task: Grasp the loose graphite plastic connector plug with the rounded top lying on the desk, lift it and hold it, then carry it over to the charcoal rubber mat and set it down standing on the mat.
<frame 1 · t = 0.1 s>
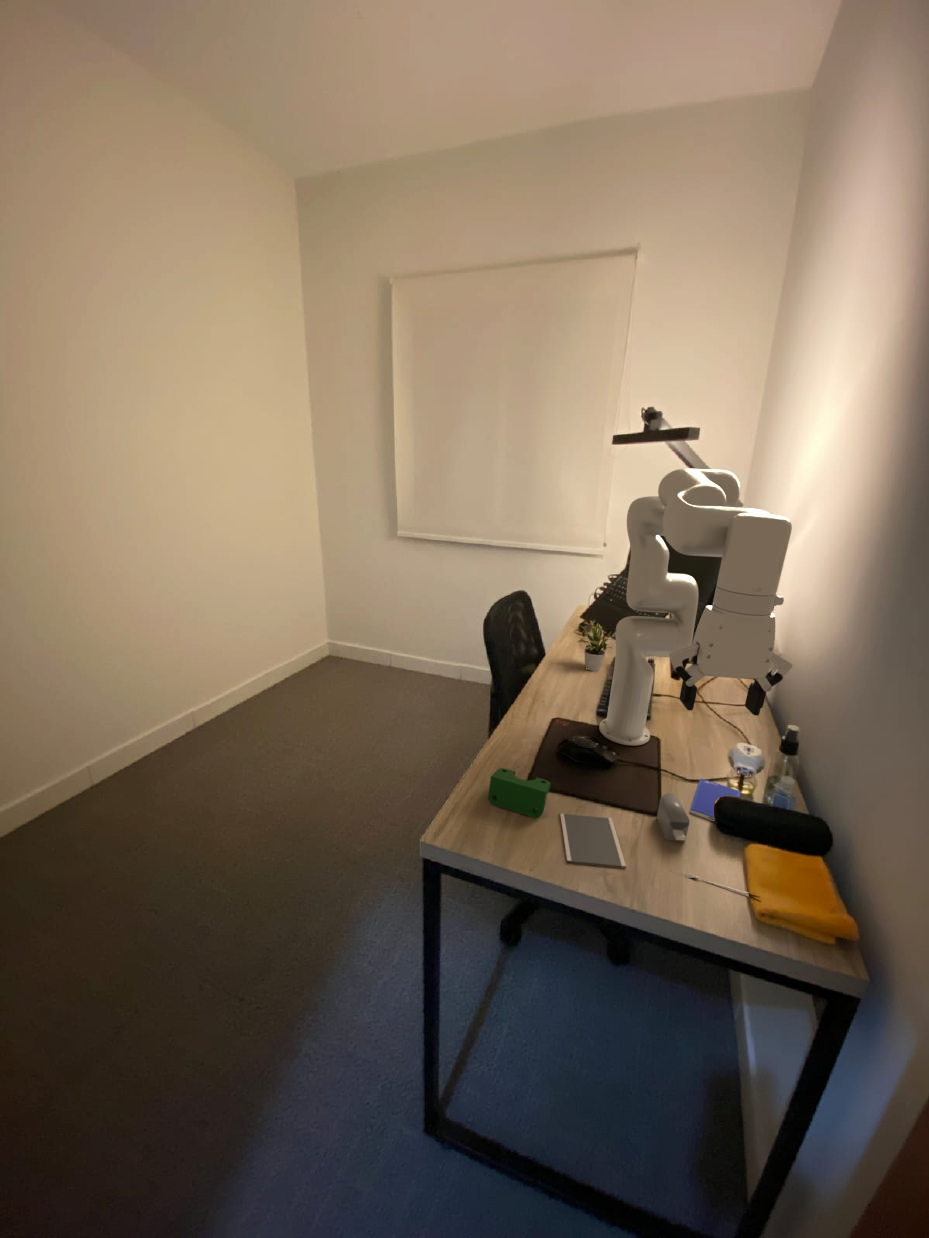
hand: (718, 708, 75), 31 cm above the table, fingers open, 9 cm apart
hard drive: (715, 806, 102), on the table
mat: (590, 839, 91), on the table
stylus: (697, 881, 83), on the table
house plant: (589, 667, 169), on the table
clamp: (518, 803, 100), on the table
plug: (670, 829, 94), on the table
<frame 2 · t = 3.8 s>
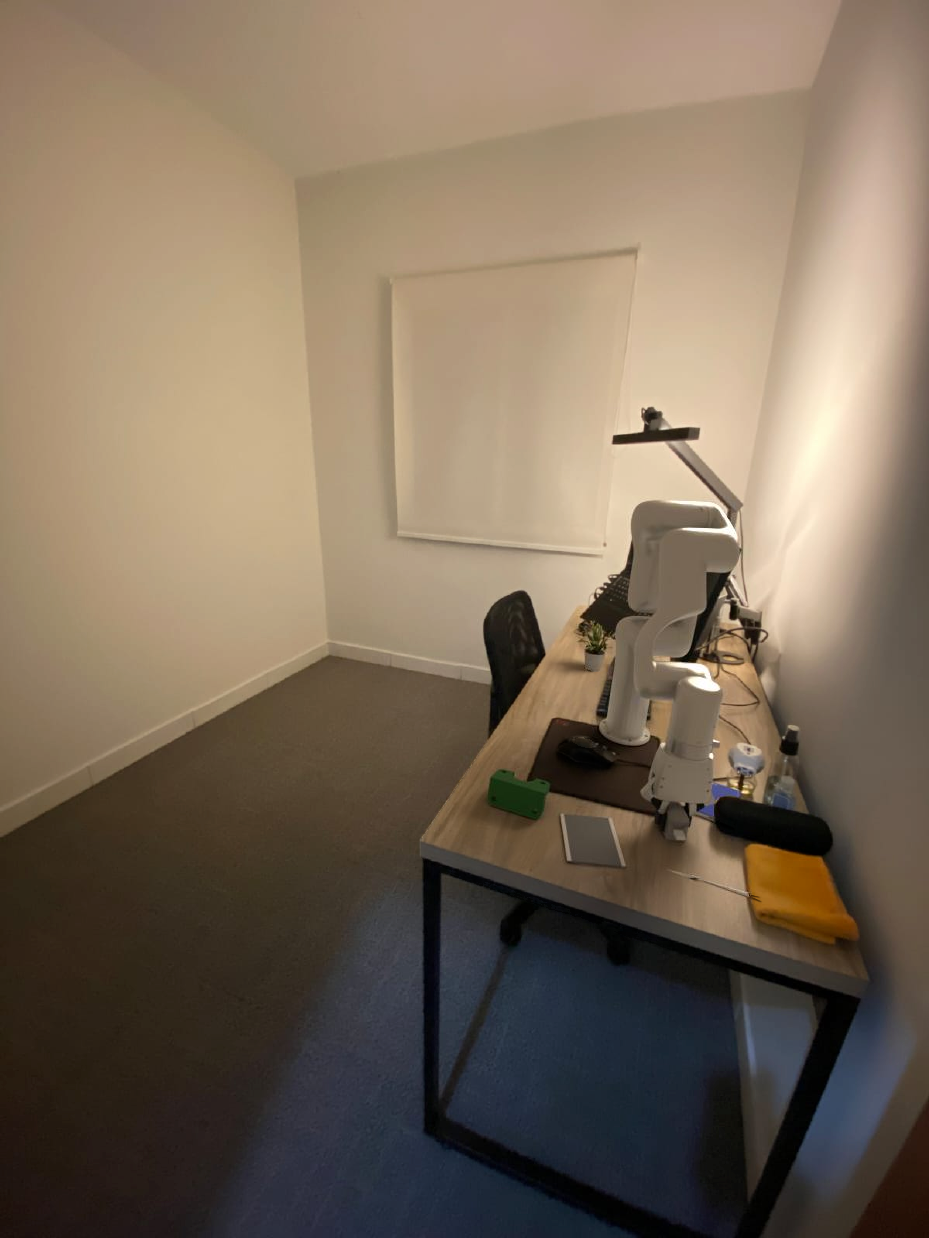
hand: (671, 826, 94), 0 cm above the table, fingers closed on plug, 3 cm apart
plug: (670, 829, 94), on the table, touching gripper
everything else where it was.
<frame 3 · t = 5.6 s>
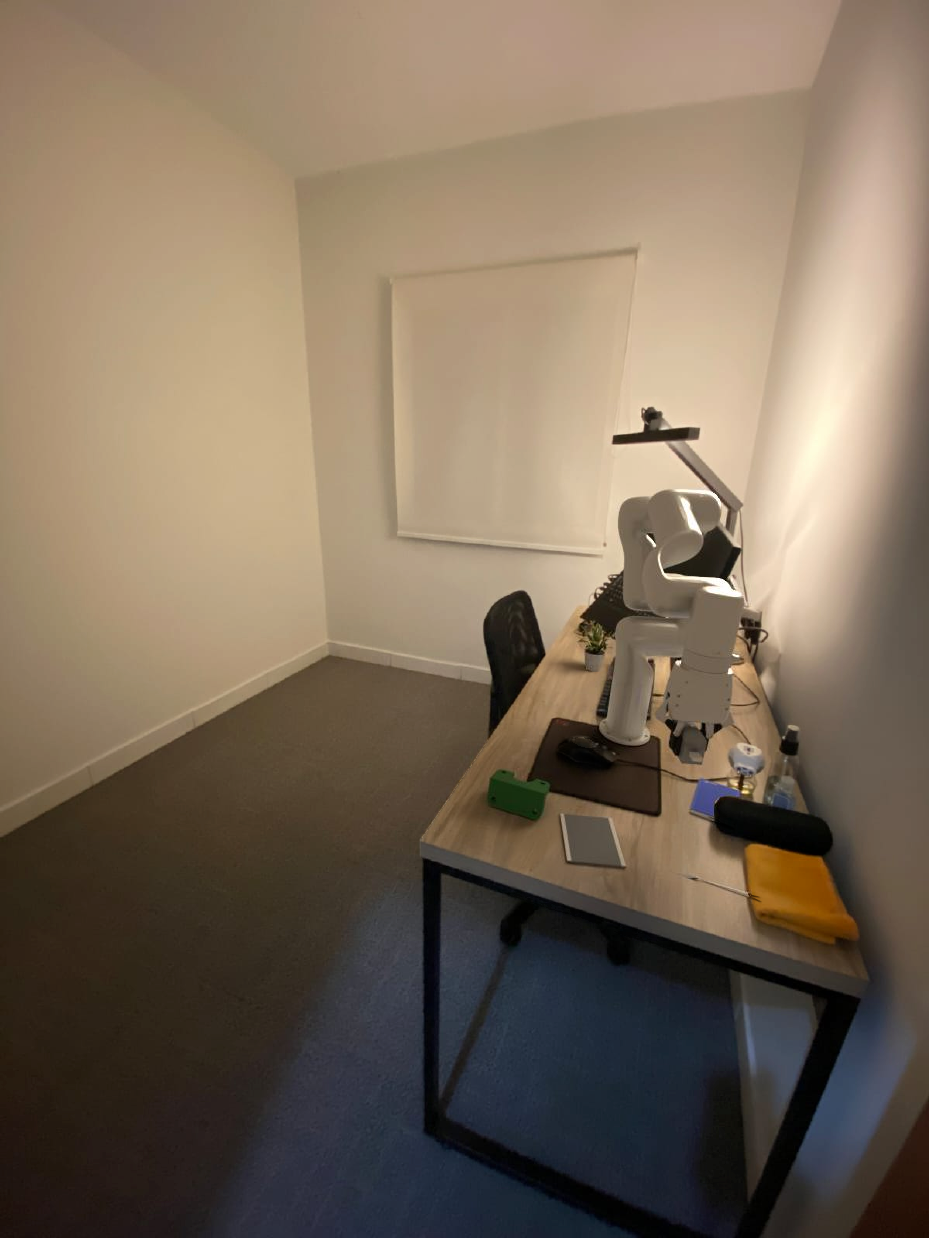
hand: (686, 751, 89), 17 cm above the table, fingers closed on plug, 3 cm apart
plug: (685, 754, 89), point 16 cm above the table, touching gripper
everything else where it was.
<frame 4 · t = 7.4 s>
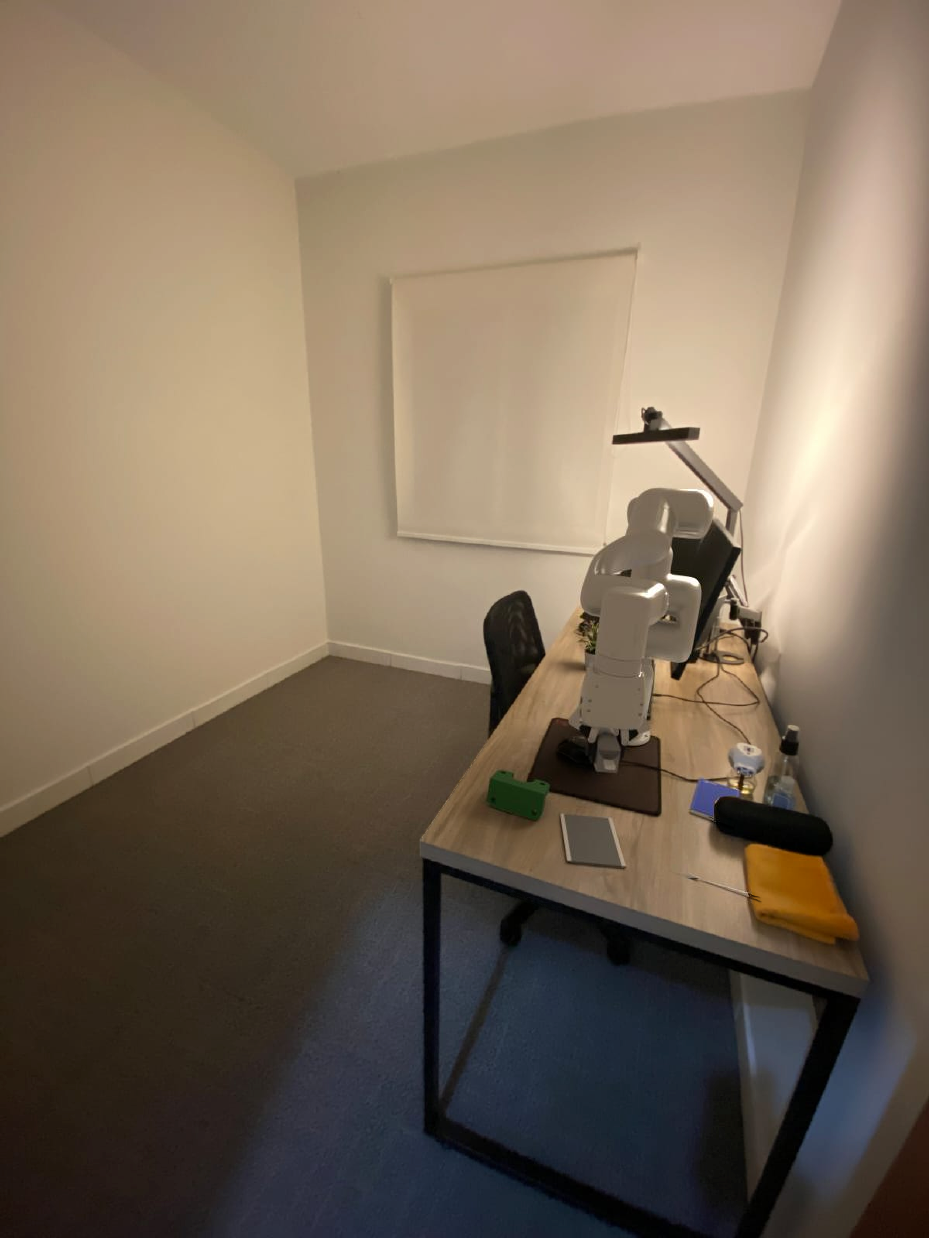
hand: (603, 759, 85), 17 cm above the table, fingers closed on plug, 3 cm apart
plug: (603, 761, 85), point 17 cm above the table, touching gripper
everything else where it was.
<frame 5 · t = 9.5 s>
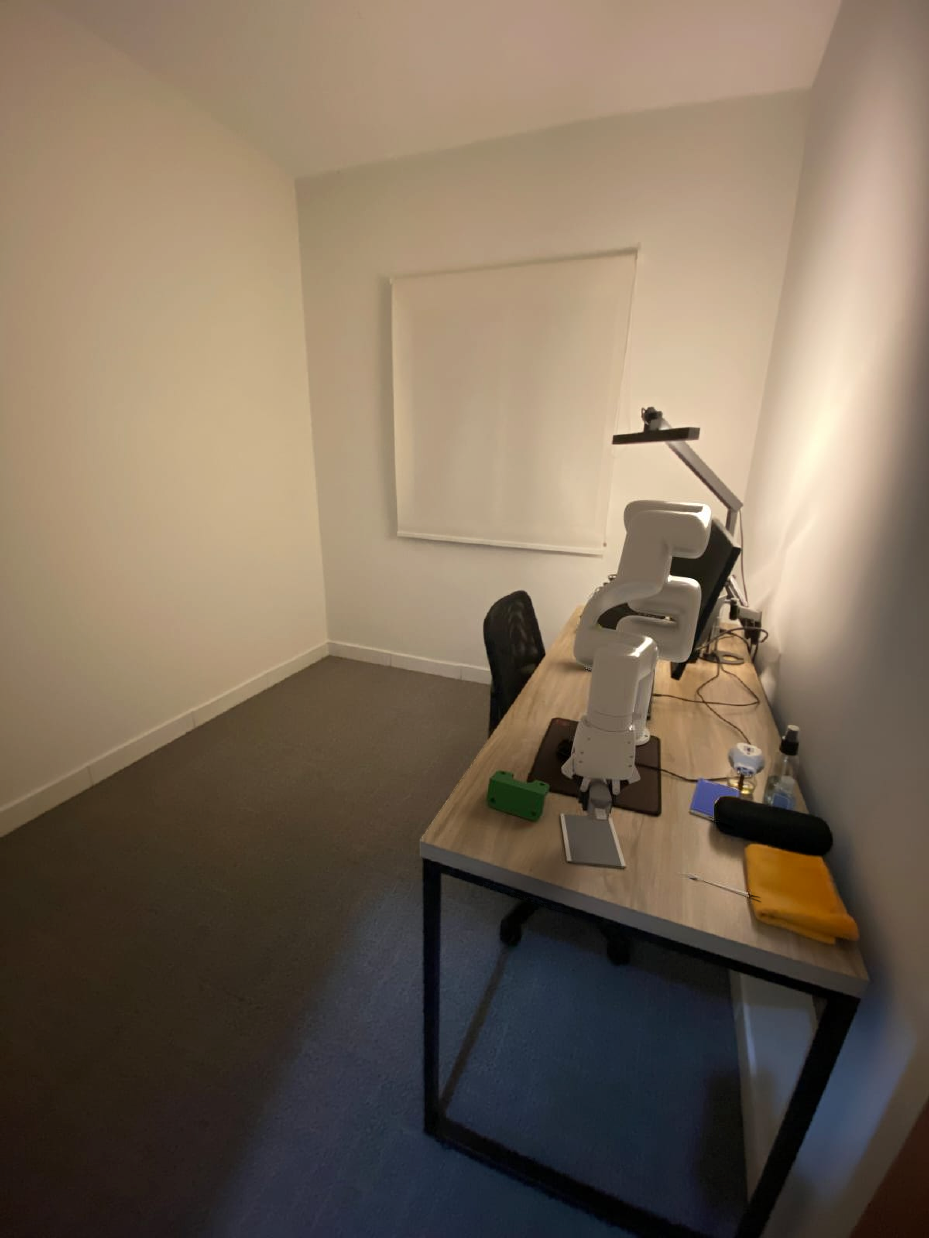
hand: (595, 806, 88), 8 cm above the table, fingers closed on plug, 3 cm apart
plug: (595, 808, 88), point 7 cm above the table, touching gripper
everything else where it was.
when the fingers open (2 cm above the table, at t = 11.3 s): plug stays where it is, resting on mat.
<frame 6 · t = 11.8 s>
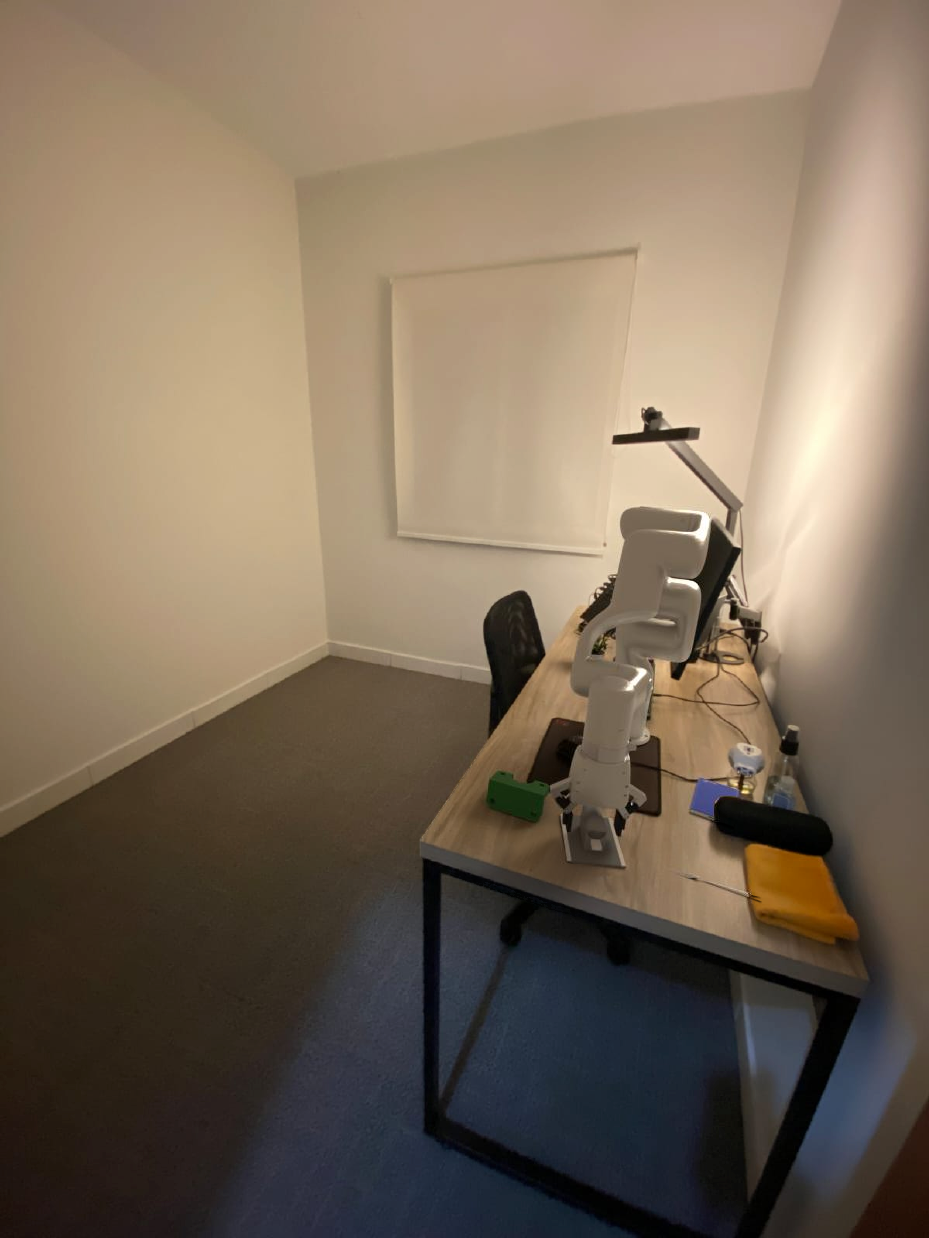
hand: (592, 828, 90), 2 cm above the table, fingers open, 8 cm apart
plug: (591, 838, 91), resting on mat
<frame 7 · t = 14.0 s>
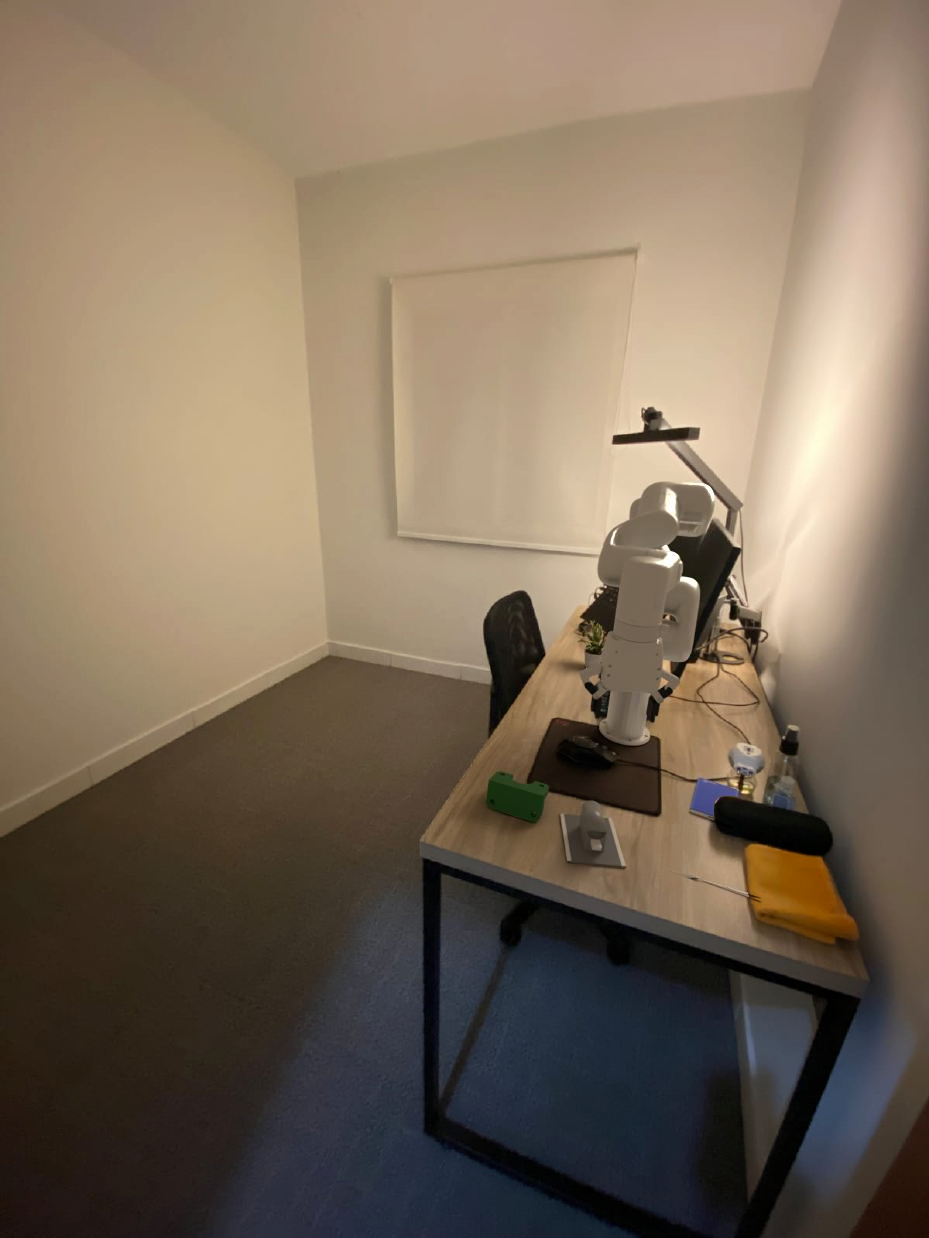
hand: (622, 716, 90), 22 cm above the table, fingers open, 9 cm apart
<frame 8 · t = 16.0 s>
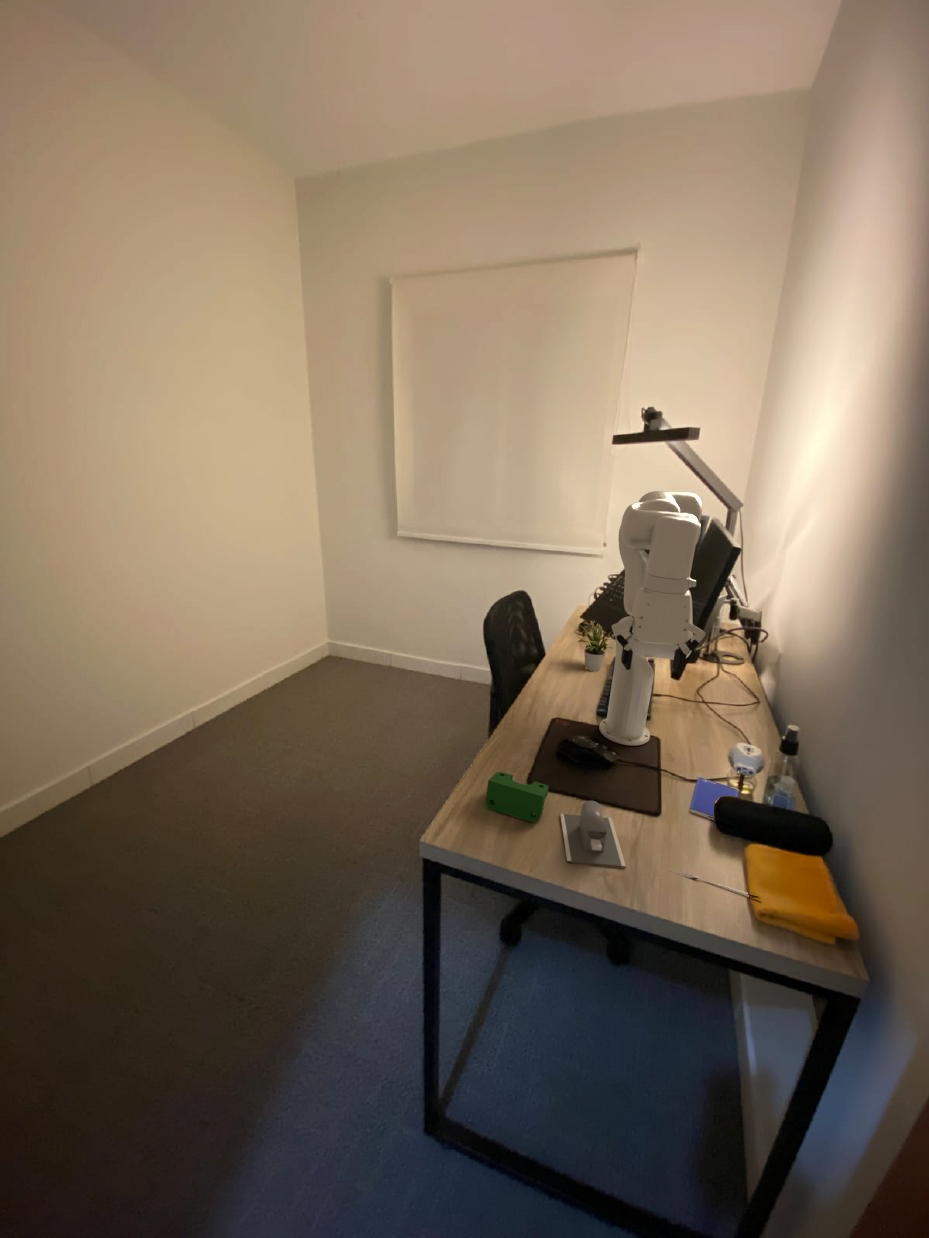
hand: (651, 668, 96), 28 cm above the table, fingers open, 9 cm apart
at the end: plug inside the target area on the mat (0.0 cm from its centre), point 0.4 cm above the mat's base; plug tilted 0°; the gripper is holding nothing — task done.
